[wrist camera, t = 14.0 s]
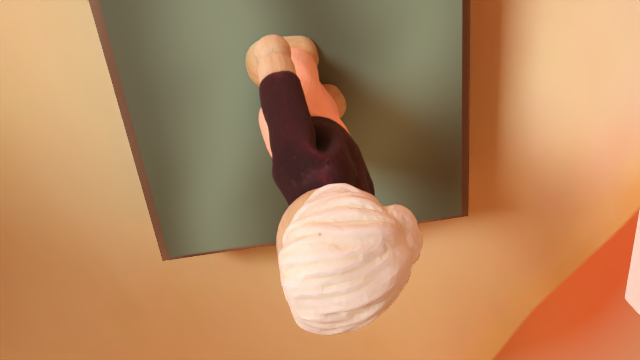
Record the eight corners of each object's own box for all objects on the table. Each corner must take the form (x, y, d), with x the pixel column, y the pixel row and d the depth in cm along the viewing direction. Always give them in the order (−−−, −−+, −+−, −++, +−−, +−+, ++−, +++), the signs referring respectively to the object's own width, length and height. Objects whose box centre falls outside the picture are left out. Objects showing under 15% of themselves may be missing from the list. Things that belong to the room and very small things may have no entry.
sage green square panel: (172, 221, 29) (160, 268, 26) (91, -83, 23) (61, -76, 19) (446, 182, 30) (472, 222, 26) (443, -127, 23) (477, -128, 20)
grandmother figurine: (198, 53, 22) (136, 237, 10) (279, -14, 21) (307, 107, 10) (323, 192, 25) (380, 450, 14) (397, 139, 24) (523, 365, 13)
